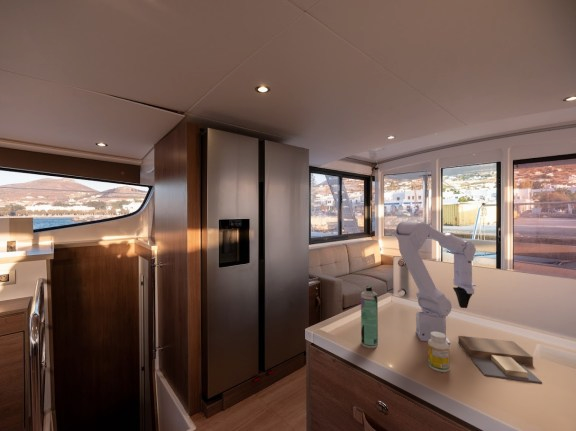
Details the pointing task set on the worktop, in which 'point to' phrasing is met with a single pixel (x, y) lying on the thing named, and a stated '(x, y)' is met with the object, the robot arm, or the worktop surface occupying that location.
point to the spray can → (369, 318)
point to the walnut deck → (494, 349)
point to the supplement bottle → (438, 352)
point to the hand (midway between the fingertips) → (463, 307)
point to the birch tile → (509, 366)
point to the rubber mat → (494, 371)
